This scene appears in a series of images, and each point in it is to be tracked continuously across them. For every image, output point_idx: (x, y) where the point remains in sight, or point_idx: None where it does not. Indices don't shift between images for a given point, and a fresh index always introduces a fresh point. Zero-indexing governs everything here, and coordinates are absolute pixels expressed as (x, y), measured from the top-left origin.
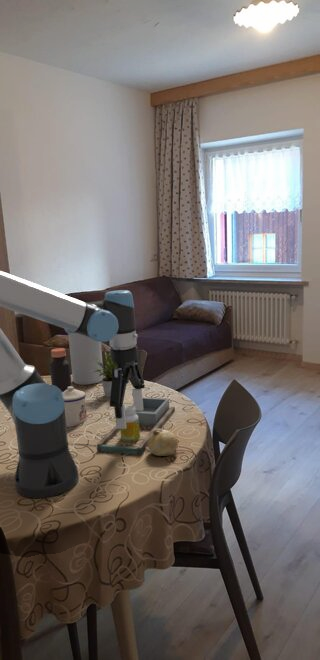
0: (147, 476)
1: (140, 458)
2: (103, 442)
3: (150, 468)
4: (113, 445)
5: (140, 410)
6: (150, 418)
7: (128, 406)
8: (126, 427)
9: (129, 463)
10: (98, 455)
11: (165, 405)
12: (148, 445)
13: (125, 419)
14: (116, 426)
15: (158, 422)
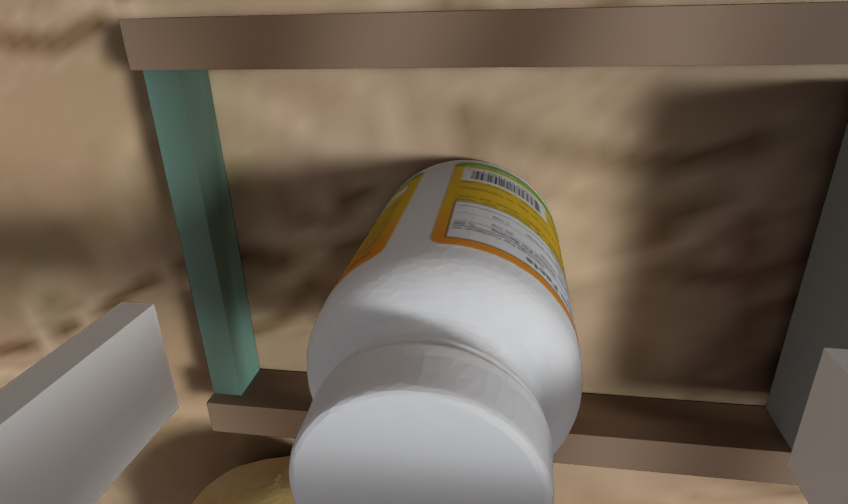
0: None
1: (189, 397)
2: (195, 69)
3: None
4: (201, 188)
5: (797, 439)
6: None
7: (500, 488)
8: (174, 410)
9: None
10: (96, 74)
11: None
12: (202, 499)
13: (96, 491)
14: (105, 318)
15: (784, 456)
